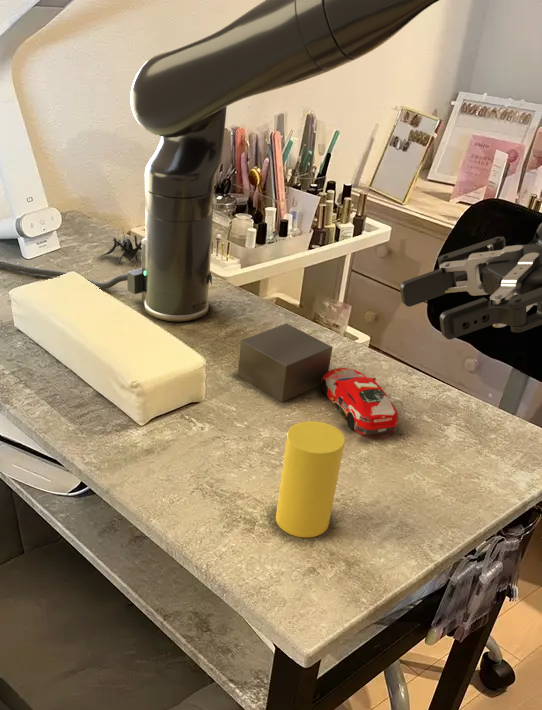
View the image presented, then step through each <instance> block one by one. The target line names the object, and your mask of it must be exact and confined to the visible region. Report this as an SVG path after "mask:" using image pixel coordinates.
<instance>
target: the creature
mask: <svg viewBox="0 0 542 710" xmlns="http://www.w3.org/2000/svg"><path fill="white" fill-rule="evenodd" d="M124 232H125V231H124V228H123V227H122V234H123V238H124V239H123V240H122V241H121V240H120V239H118V240H117V238H116V237H112V238H113V239H112V241H113V246H112V248H111V249H110V250H109V251H107V252H105V253H104V254H101V255H100V258H103V257H104V256H107V255H108V256H109V255H111V254H112V253H113V252H114V251H115V250H116V248H118V247H120V251H121V252H122V254H121V255H120V257H119V258H118V256H117V257H116V256H112V258H113V259H116V261H117V263H118V264H120V263H121V260H122V258H126V259H127V260H128V262H129V263H130V262H131V261H132V259H133V258H134V257H135V261H137V262H138V261H139V260H138V255H137V254H140V253H141V251H142V240H143V239H144V238H145V237H143V238H142V239H141V240H140V241H139V243H138V238H137V235H136V234H134V235H133V237H134V245H135V248H134V246H133V243H132V241H131V239H130V238H128V237H126V236H125V233H124ZM139 250H140V251H139Z"/></svg>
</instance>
